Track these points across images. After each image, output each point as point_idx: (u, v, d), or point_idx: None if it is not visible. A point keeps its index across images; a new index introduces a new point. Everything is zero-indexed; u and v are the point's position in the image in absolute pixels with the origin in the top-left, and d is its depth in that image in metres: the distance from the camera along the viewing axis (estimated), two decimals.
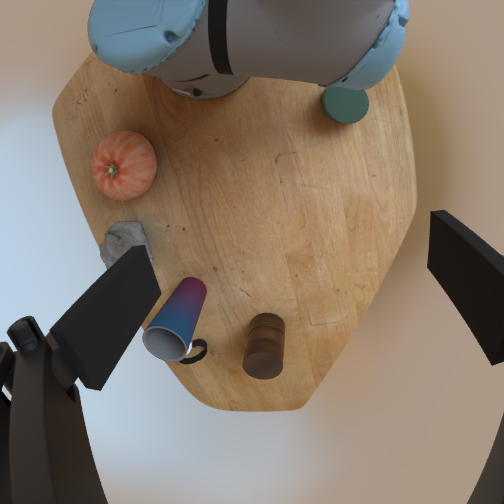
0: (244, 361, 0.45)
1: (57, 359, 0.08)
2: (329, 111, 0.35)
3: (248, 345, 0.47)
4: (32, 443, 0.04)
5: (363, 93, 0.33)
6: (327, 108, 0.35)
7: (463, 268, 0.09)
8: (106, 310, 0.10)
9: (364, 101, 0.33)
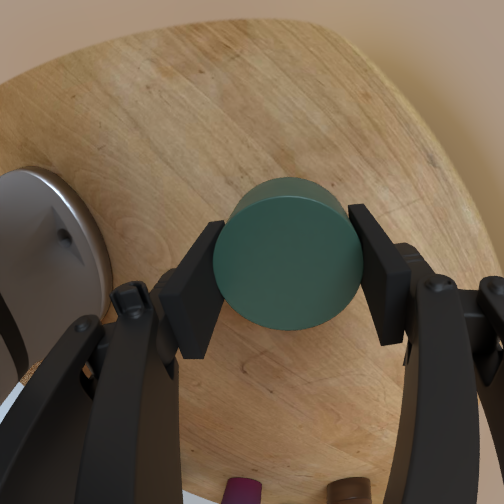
0: None
1: (163, 331, 0.09)
2: (258, 321, 0.13)
3: None
4: (118, 430, 0.04)
5: (325, 215, 0.11)
6: (249, 316, 0.13)
7: (363, 255, 0.11)
8: (205, 277, 0.11)
9: (341, 238, 0.11)
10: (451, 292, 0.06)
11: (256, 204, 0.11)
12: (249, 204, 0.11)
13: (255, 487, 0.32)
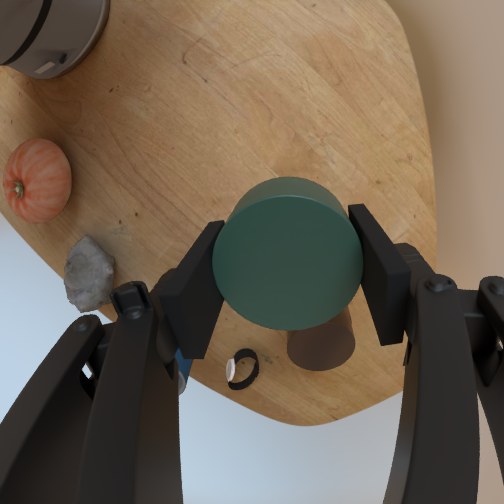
0: (289, 352, 0.27)
1: (163, 331, 0.09)
2: (258, 321, 0.13)
3: None
4: (118, 430, 0.04)
5: (324, 215, 0.10)
6: (248, 316, 0.13)
7: (363, 255, 0.11)
8: (205, 277, 0.11)
9: (341, 238, 0.11)
10: (451, 292, 0.06)
11: (256, 203, 0.11)
12: (248, 203, 0.11)
13: None
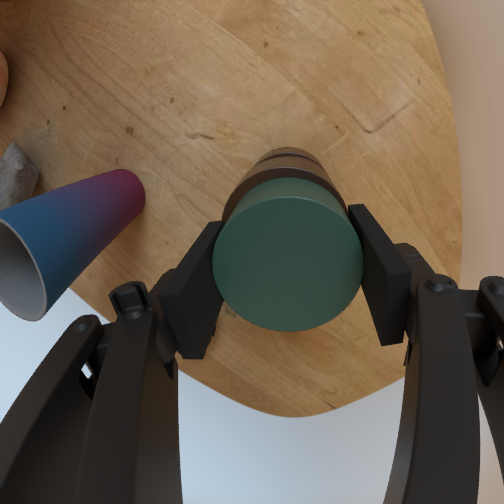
0: None
1: (162, 331, 0.09)
2: (258, 322, 0.13)
3: None
4: (117, 430, 0.04)
5: (325, 216, 0.10)
6: (248, 318, 0.13)
7: None
8: (205, 278, 0.11)
9: (341, 239, 0.11)
10: (452, 292, 0.06)
11: (256, 204, 0.11)
12: (249, 205, 0.11)
13: (129, 177, 0.24)
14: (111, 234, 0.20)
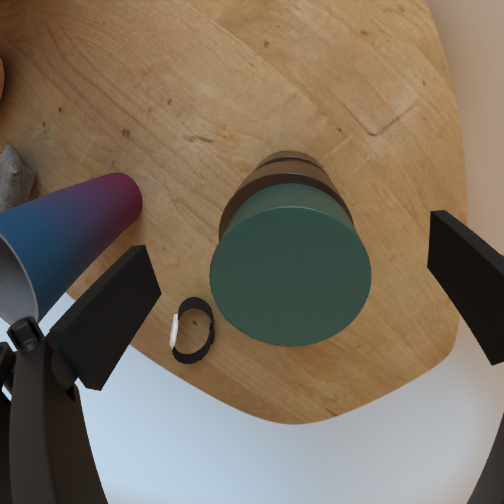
0: None
1: (57, 359, 0.08)
2: (259, 337, 0.12)
3: None
4: (32, 443, 0.04)
5: (330, 227, 0.10)
6: (248, 332, 0.12)
7: (463, 268, 0.09)
8: (106, 310, 0.10)
9: (347, 252, 0.10)
10: None
11: (256, 215, 0.10)
12: (248, 215, 0.10)
13: (125, 181, 0.23)
14: (106, 240, 0.20)
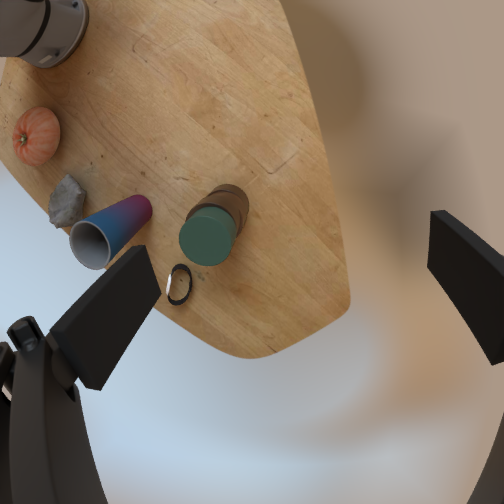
0: None
1: (57, 359, 0.08)
2: (196, 262, 0.34)
3: None
4: (32, 443, 0.04)
5: (214, 222, 0.32)
6: (192, 260, 0.34)
7: (463, 268, 0.09)
8: (106, 310, 0.10)
9: (220, 230, 0.32)
10: None
11: (191, 219, 0.32)
12: (189, 219, 0.32)
13: (143, 199, 0.45)
14: (135, 230, 0.42)
